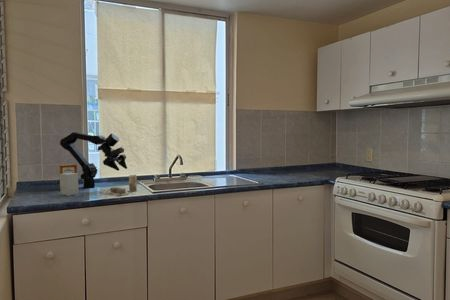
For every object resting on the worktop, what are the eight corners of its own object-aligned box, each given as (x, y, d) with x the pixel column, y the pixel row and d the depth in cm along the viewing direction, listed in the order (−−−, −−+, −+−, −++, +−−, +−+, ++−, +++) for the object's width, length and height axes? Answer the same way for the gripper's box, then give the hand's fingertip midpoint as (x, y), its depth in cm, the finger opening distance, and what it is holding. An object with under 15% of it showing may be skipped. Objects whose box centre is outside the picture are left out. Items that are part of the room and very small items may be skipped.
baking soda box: (60, 190, 218) (60, 165, 217) (59, 188, 223) (59, 164, 222) (77, 188, 222) (76, 164, 221) (75, 187, 228) (75, 163, 227)
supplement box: (79, 193, 206) (78, 173, 205) (67, 195, 200) (67, 174, 199) (71, 192, 210) (70, 172, 209) (60, 194, 204) (59, 173, 203)
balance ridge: (106, 193, 206) (106, 188, 206) (118, 191, 213) (117, 186, 213) (117, 196, 200) (117, 190, 200) (129, 194, 206) (129, 188, 206)
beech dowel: (130, 191, 214) (130, 175, 213) (128, 190, 218) (128, 175, 217) (137, 191, 217) (137, 175, 216) (135, 189, 220) (135, 174, 220)
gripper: (107, 143, 211) (122, 162, 209) (124, 142, 229) (138, 160, 227) (96, 155, 214) (111, 174, 212) (113, 153, 232) (127, 170, 230)
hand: (122, 169), depth 220 cm, fingers open, 9 cm apart
